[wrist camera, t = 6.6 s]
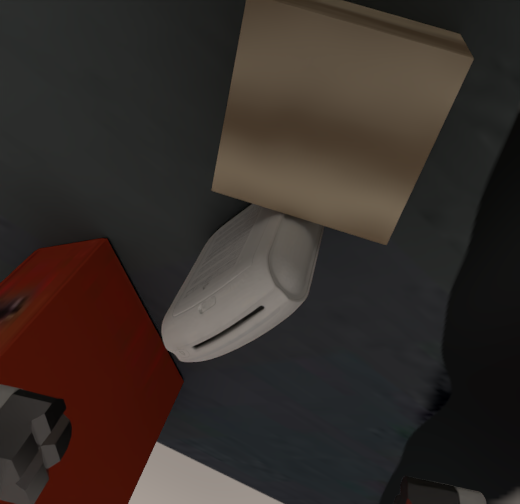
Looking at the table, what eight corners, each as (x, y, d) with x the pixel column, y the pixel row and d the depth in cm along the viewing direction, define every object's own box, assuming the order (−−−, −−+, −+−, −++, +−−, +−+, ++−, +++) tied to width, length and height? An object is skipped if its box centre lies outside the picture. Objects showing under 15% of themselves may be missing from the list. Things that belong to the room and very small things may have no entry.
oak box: (272, -21, 28) (247, -7, 23) (459, 33, 27) (474, 58, 23) (236, 152, 35) (211, 190, 30) (387, 198, 34) (386, 245, 29)
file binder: (118, 382, 52) (-147, 835, 27) (34, 249, 44) (-471, 722, 18) (184, 379, 50) (-40, 880, 24) (108, 236, 41) (-364, 773, 15)
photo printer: (237, 273, 40) (187, 391, 30) (201, 237, 39) (136, 347, 29) (337, 209, 35) (315, 326, 25) (299, 165, 34) (260, 269, 24)
